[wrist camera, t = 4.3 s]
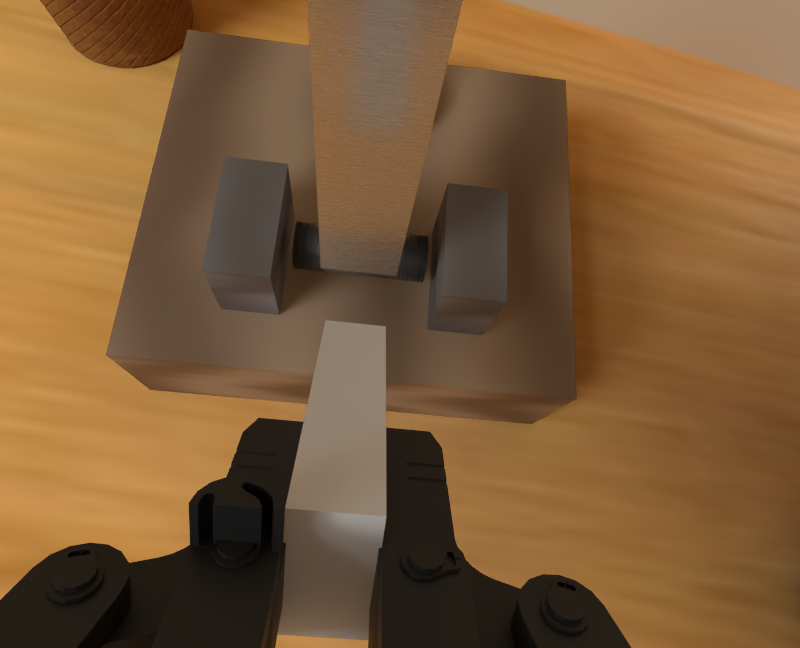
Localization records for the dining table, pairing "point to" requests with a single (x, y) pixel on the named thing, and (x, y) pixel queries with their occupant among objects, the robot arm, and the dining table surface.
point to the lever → (372, 131)
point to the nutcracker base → (340, 293)
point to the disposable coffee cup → (123, 28)
